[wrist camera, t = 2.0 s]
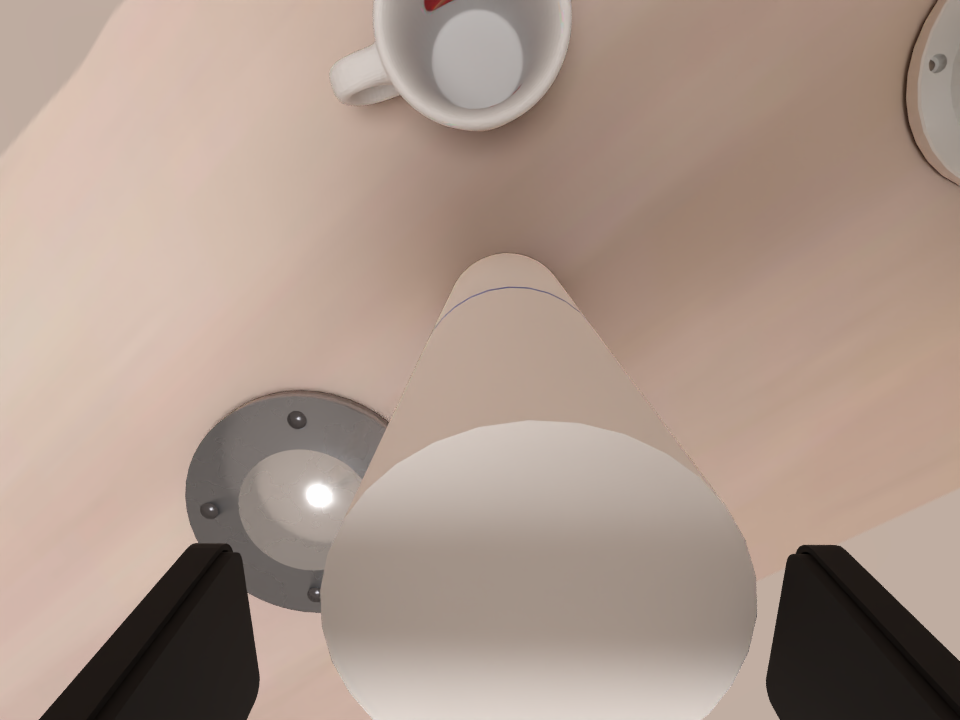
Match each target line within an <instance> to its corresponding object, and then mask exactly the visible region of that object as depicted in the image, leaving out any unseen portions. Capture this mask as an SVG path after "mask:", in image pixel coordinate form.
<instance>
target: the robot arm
mask: <svg viewBox="0 0 960 720" xmlns="http://www.w3.org/2000/svg"><path fill="white" fill-rule="evenodd" d="M906 103H907V111H908V119H909V124H910V127H911V130H912V133H913V135H914V138H915V141H916V144H917V145H918V147H919V148H920V150H921V152H922V153H923V155H924V156H925V158H926V160H927V161H928V162H929V163H930V164H931V165H932V166H933V167H934V168H935V169H936V170H937V171H938V172H939V173H940V174H941V175H942V176H944V177H946V178H947V179H949V180H951V181H952V182H954V183H956V184H958V185H959V186H960V0H938V1H937V3H936V5H935V6H934V8H933V9H932V11H931V13H930V14H929V16H928V18H927V19H926V21H925V23H924V25H923V27H922V30H921V32H920V35H919V37H918V39H917V42H916V44H915V47H914V50H913V54H912V58H911V62H910V66H909V70H908V76H907V92H906ZM259 681H260V677H259V669H258V662H257V655H256V648H255V642H254V635H253V628H252V621H251V615H250V608H249V601H248V594H247V587H246V581H245V574H244V567H243V560H242V556H241V555H240V553H238V552H233V550H232V548H231V546H230V545H229V544H227V543H195V544H192V545H190V546H189V547H188V548H187V549H186V550H185V552H184V553H183V554H182V555H181V556H180V557H179V558H178V560H177V561H176V562H175V563H174V564H173V565H172V567H171V568H170V569H169V570H168V571H167V572H166V573H165V575H164V576H163V577H162V578H161V579H160V580H159V582H158V583H157V584H156V585H155V586H154V587H153V588H152V590H151V591H150V592H149V593H148V594H147V595H146V597H145V598H144V599H143V600H142V601H141V602H140V603H139V605H138V606H137V607H136V608H135V609H134V610H133V612H132V613H131V614H130V615H129V616H128V617H127V619H126V620H125V621H124V622H123V623H122V624H121V625H120V627H119V628H118V629H117V630H116V631H115V632H114V634H113V635H112V636H111V637H110V638H109V639H108V640H107V642H106V643H105V644H104V645H103V646H102V647H101V649H100V650H99V651H98V652H97V653H96V654H95V655H94V657H93V658H92V659H91V660H90V661H89V662H88V664H87V665H86V666H85V667H84V668H83V669H82V671H81V672H80V673H79V674H78V675H77V676H76V677H75V679H74V680H73V681H72V682H71V683H70V684H69V686H68V687H67V688H66V689H65V690H64V691H63V692H62V694H61V695H60V696H59V697H58V698H57V699H56V701H55V702H54V703H53V704H52V705H51V706H50V707H49V709H48V710H47V711H46V712H45V713H44V714H43V716H42V717H41V718H40V719H39V720H247V718H248V715H249V713H250V711H251V709H252V707H253V705H254V703H255V700H256V697H257V694H258V689H259ZM766 688H767V693H768V696H769V700H770V702H771V704H772V706H773V708H774V710H775V711H776V714H777V715H778V717H779V719H780V720H960V661H959V660H958V659H957V658H956V657H955V656H954V655H953V654H952V653H951V652H950V651H949V650H948V649H947V648H946V647H944V646H943V645H942V644H941V643H940V642H939V641H938V640H937V639H936V638H935V637H934V636H933V635H932V634H931V633H930V632H929V631H928V630H927V629H926V628H925V627H924V626H923V625H922V624H921V623H920V622H919V621H918V620H917V619H916V618H915V617H914V616H913V615H912V614H911V613H910V612H909V611H908V610H907V609H906V608H904V607H903V606H902V605H901V604H900V603H899V602H898V601H897V600H896V599H895V598H894V597H893V596H892V595H891V594H890V593H889V592H888V591H887V590H886V589H885V588H884V587H883V586H882V585H881V584H880V583H879V582H878V581H877V580H876V579H875V578H874V577H873V576H872V575H871V574H870V573H868V572H867V571H866V570H865V569H864V568H863V567H862V566H861V565H860V564H859V563H858V562H857V561H856V560H855V559H854V558H853V557H852V556H851V555H850V554H849V553H848V552H847V551H846V550H844V549H843V548H842V547H841V546H837V545H803V546H800V547H799V548H798V550H797V552H796V554H791V555H790V556H789V557H788V559H787V563H786V568H785V574H784V580H783V586H782V591H781V597H780V603H779V608H778V614H777V620H776V626H775V631H774V637H773V643H772V649H771V654H770V660H769V665H768V671H767V677H766Z"/></svg>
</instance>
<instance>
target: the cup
mask: <svg viewBox="0 0 960 720" xmlns="http://www.w3.org/2000/svg"><path fill="white" fill-rule="evenodd" d="M571 26H572V6H571V0H374V2H373V29H374V37H375V42H374V43H373V44H372V45H370V46H368V47H366V48H364V49H361V50H359V51H356V52H354V53H352V54H349V55H347V56H345V57H344V58H342V59H340V60H338V61H337V62H336V63H335V64H334V65H333V66H332V67H331V69H330V73H329V78H330V82H331V86H332V89H333V91H334V94H335V96H336V98H337V99H338V100H339V101H340V102H341V103H343V104H346V105H349V106H366V105H371V104H375V103H379V102H382V101H385V100H388V99H391V98H394V97H397V96H399V95H401V96H402V97H403V98H404V100H405V101H406V102H407V103H408V104H409V105H411V106H412V107H413V108H414V109H415V110H416V111H418V112H419V113H421V114H422V115H424V116H425V117H427V118H428V119H430V120H432V121H434V122H436V123H439V124H441V125H444V126H447V127H451V128H455V129H461V130H467V131H486V130H492V129H495V128H498V127H500V126H503V125H505V124H507V123H509V122H511V121H513V120H514V119H516V118H518V117H520V116H521V115H523V114H524V113H526V112H527V111H528V110H530V109H531V108H532V107H533V106H534V105H535V104H536V103H537V102H538V101H539V100H540V99H541V98H542V97H543V96H544V95H545V93H546V92H547V91H548V89H549V88H550V87H551V85H552V84H553V82H554V80H555V79H556V77H557V75H558V73H559V71H560V69H561V67H562V64H563V62H564V59H565V56H566V53H567V50H568V45H569V41H570V36H571Z"/></svg>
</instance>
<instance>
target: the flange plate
mask: <svg viewBox="0 0 960 720" xmlns="http://www.w3.org/2000/svg"><path fill="white" fill-rule="evenodd" d="M388 424H389V423H388V422H387V421H386V420H385V419H383V418H382V417H381V416H379V415H378V414H376V413H375V412H373V411H371V410H370V409H368V408H366V407H365V406H362V405H360V404H358V403H356V402H354V401H351V400H349V399H346V398H343V397H340V396H336V395H333V394H328V393H322V392H316V391H285V392H280V393H274V394H269V395H266V396H263V397H260V398H257V399H254V400H252V401H250V402H248V403H246V404H244V405H242V406H241V407H239V408H238V409H236V410H235V411H233V412H232V413H230V414H229V415H228V416H226V417H225V418H224V419H223V420H222V421H220V422H219V423H218V424H217V425H216V426H215V427H214V428H213V429H212V430H211V431H210V432H209V433H208V434H207V435H206V437H205V438H204V439H203V440H202V442H201V443H200V445H199V447H198V448H197V450H196V452H195V454H194V456H193V458H192V461H191V464H190V467H189V470H188V475H187V480H186V495H185V497H186V506H187V513H188V517H189V521H190V525H191V527H192V529H193V532H194V534H195V537H196V539H197V541H198V543H227V544H229V545H230V546H231V548H232V550H233V552H238V553H240V555H241V556H242V560H243V567H244V574H245V581H246V587H247V593H249V594H251V595H253V596H255V597H257V598H259V599H261V600H263V601H266V602H268V603H271V604H273V605H276V606H280V607H283V608H287V609H291V610H297V611H302V612H316V613H321V597H320V589H321V584H322V579H323V574H324V569H325V564H326V559H327V554H328V552H329V550H330V547H331V545H332V543H333V541H334V539H335V537H336V535H337V532H338V530H339V528H340V526H341V524H342V522H343V520H344V518H345V515H346V513H347V511H348V509H349V507H350V505H351V503H352V501H353V498H354V496H355V494H356V492H357V490H358V488H359V486H360V484H361V481H362V479H363V477H364V475H365V473H366V471H367V469H368V466H369V464H370V462H371V460H372V458H373V456H374V454H375V452H376V449H377V447H378V445H379V443H380V441H381V439H382V437H383V435H384V432H385V430H386V428H387V426H388Z"/></svg>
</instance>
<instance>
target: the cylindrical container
mask: <svg viewBox="0 0 960 720" xmlns="http://www.w3.org/2000/svg"><path fill="white" fill-rule="evenodd" d="M320 597H321V619H322V629H323V632H324V636H325V639H326V643H327V646H328V649H329V653H330V656H331V659H332V662H333V664H334V666H335V668H336V669H337V671H338V673H339V675H340V677H341V678H342V680H343V682H344V684H345V685H346V687H347V689H348V691H349V693H350V694H351V695H352V696H353V697H354V698H355V700H356V701H357V702H358V703H359V704H360V705H361V707H362V708H363V709H364V710H365V711H366V712H367V713H368V715H369V716H370V717H371V718H372V719H373V720H702V719H703V718H704V717H706V716H707V715H708V714H709V713H710V712H711V711H712V710H713V708H714V707H715V706H716V704H717V703H718V702H719V701H720V699H721V698H722V697H723V695H724V694H725V693H726V692H727V690H728V689H729V688H730V686H732V684H733V682H734V680H735V678H736V676H737V674H738V672H739V670H740V668H741V666H742V664H743V662H744V660H745V658H746V656H747V654H748V652H749V647H750V643H751V639H752V634H753V630H754V626H755V621H756V617H757V599H756V598H757V597H756V575H755V572H754V568H753V565H752V561H751V558H750V554H749V551H748V547H747V544H746V540H745V538H744V537H743V535H742V533H741V531H740V530H739V528H738V526H737V525H736V523H735V521H734V519H733V518H732V516H731V514H730V512H729V511H728V509H727V507H726V506H725V504H724V503H723V502H722V500H721V499H720V497H719V496H718V495H717V493H716V492H715V491H714V489H713V488H712V487H711V485H710V484H709V483H708V481H707V480H706V479H705V477H704V476H703V475H702V473H701V472H700V471H699V469H698V468H697V467H696V465H695V464H694V463H693V461H692V460H691V459H690V457H689V456H688V455H687V453H686V452H685V451H684V449H683V448H682V446H681V445H680V444H679V442H678V441H677V440H676V438H675V437H674V436H673V434H672V433H671V432H670V430H669V429H668V428H667V426H666V425H665V424H664V422H663V421H662V420H661V418H660V417H659V416H658V414H657V413H656V412H655V410H654V409H653V408H652V406H651V405H650V404H649V402H648V401H647V400H646V398H645V397H644V395H643V394H642V393H641V391H640V390H639V389H638V387H637V386H636V385H635V383H634V382H633V381H632V379H631V378H630V377H629V375H628V374H627V373H626V371H625V370H624V369H623V367H622V366H621V365H620V363H619V362H618V361H617V359H616V358H615V356H614V355H613V354H612V352H611V351H610V350H609V348H608V347H607V346H606V344H605V343H604V342H603V340H602V339H601V338H600V336H599V335H598V334H597V332H596V331H595V330H594V328H593V327H592V326H591V324H590V323H589V322H588V320H587V319H586V317H585V316H584V315H583V313H582V312H581V311H580V309H579V308H578V307H577V305H576V304H575V303H574V301H573V300H572V299H571V297H570V296H569V295H568V293H567V292H566V291H565V289H564V288H563V287H562V285H561V284H560V283H559V281H558V280H557V279H556V277H555V276H554V275H553V274H552V273H551V272H550V270H549V269H548V268H546V267H545V266H544V265H542V264H541V263H540V262H538V261H536V260H534V259H532V258H530V257H528V256H524V255H520V254H514V253H501V254H495V255H490V256H488V257H485V258H483V259H480V260H479V261H477V262H475V263H474V264H472V265H471V266H469V267H468V268H467V269H466V270H465V271H464V272H463V273H462V274H461V276H460V277H459V278H458V280H457V281H456V283H455V285H454V287H453V289H452V291H451V293H450V295H449V297H448V299H447V302H446V304H445V306H444V308H443V310H442V312H441V314H440V316H439V318H438V320H437V322H436V324H435V327H434V329H433V331H432V333H431V335H430V337H429V339H428V341H427V343H426V345H425V347H424V350H423V352H422V354H421V356H420V358H419V360H418V362H417V364H416V367H415V369H414V371H413V373H412V375H411V377H410V379H409V381H408V384H407V386H406V388H405V390H404V392H403V394H402V396H401V398H400V401H399V403H398V405H397V407H396V409H395V411H394V413H393V415H392V418H391V420H390V422H389V424H388V426H387V428H386V430H385V432H384V435H383V437H382V439H381V441H380V443H379V445H378V447H377V449H376V452H375V454H374V456H373V458H372V460H371V462H370V464H369V466H368V469H367V471H366V473H365V475H364V477H363V479H362V481H361V484H360V486H359V488H358V490H357V492H356V494H355V496H354V498H353V501H352V503H351V505H350V507H349V509H348V511H347V513H346V515H345V518H344V520H343V522H342V524H341V526H340V528H339V530H338V532H337V535H336V537H335V539H334V541H333V543H332V545H331V547H330V550H329V552H328V554H327V559H326V564H325V569H324V574H323V579H322V584H321V589H320Z"/></svg>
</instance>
